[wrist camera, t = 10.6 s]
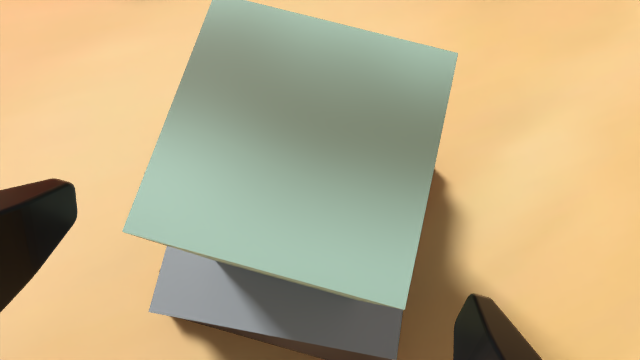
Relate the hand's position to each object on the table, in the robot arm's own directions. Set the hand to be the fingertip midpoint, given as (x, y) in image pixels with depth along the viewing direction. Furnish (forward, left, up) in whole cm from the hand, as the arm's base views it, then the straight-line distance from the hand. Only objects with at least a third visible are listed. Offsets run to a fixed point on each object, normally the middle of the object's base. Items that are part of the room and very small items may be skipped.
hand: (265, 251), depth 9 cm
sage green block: (+2, +1, -8) cm, 9 cm away
